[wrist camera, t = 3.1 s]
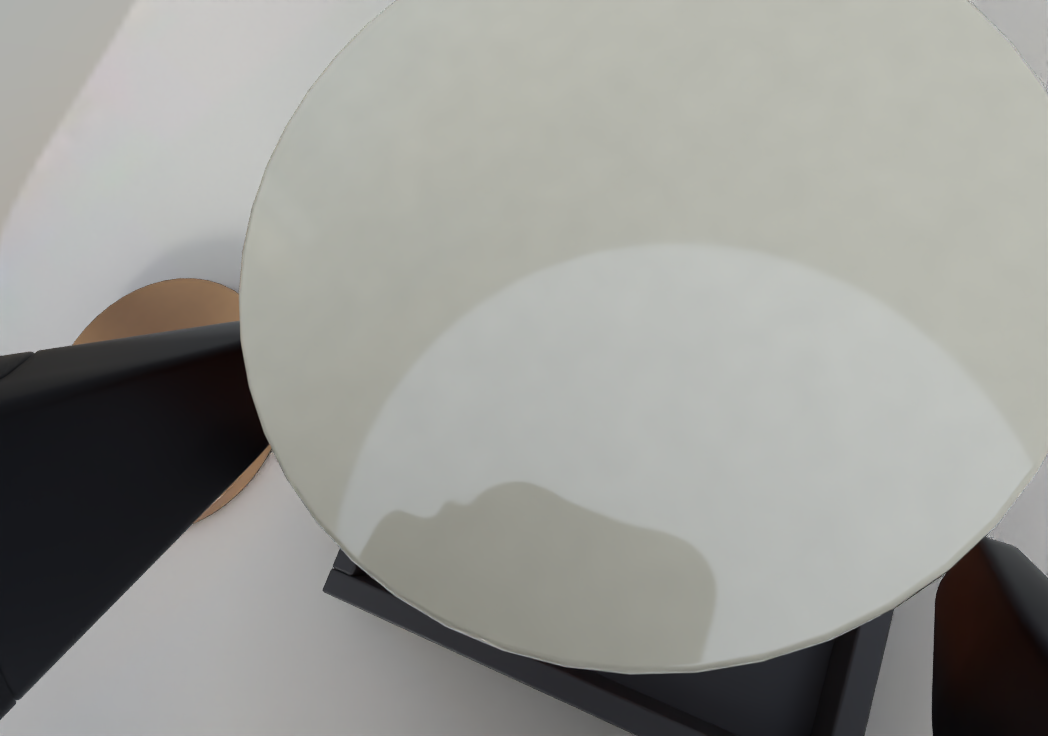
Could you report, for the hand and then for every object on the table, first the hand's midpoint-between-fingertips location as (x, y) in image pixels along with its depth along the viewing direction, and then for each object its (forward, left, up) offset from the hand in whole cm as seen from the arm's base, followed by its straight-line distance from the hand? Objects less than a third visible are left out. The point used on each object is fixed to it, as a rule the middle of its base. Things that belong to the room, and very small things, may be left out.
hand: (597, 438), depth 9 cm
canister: (+1, +1, -8) cm, 9 cm away
